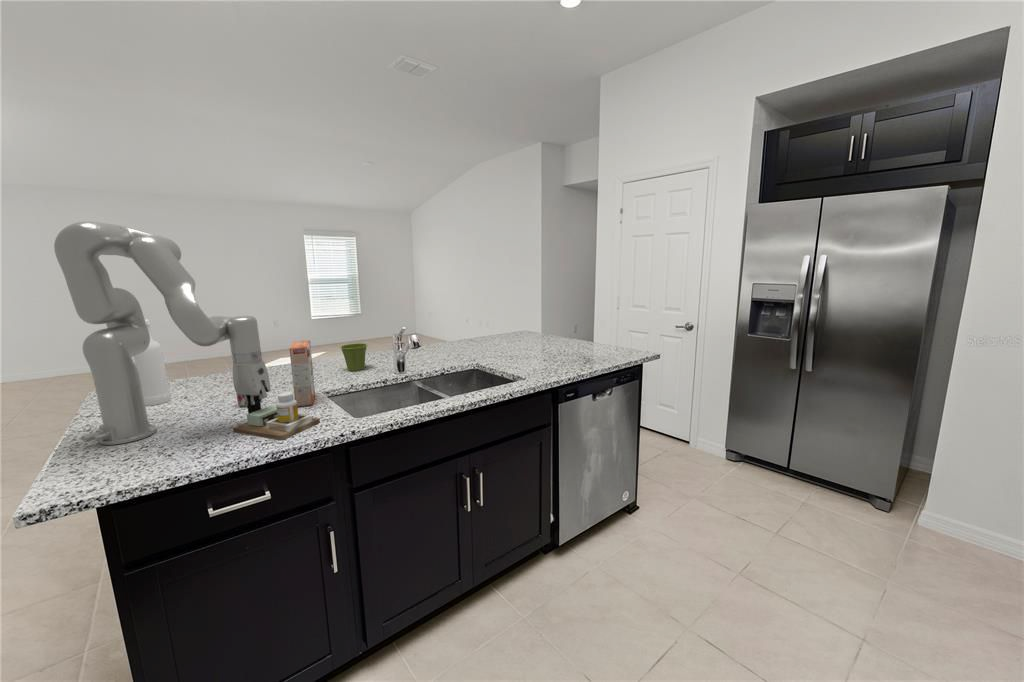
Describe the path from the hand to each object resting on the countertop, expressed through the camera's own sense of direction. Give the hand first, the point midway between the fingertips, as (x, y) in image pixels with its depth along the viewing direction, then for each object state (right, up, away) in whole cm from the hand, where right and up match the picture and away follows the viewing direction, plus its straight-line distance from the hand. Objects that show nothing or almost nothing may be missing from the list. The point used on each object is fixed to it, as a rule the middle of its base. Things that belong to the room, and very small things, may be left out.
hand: (255, 415), depth 131 cm
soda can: (-13, 0, +19) cm, 23 cm away
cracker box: (+5, +1, +22) cm, 22 cm away
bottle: (-49, +1, +23) cm, 54 cm away
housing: (+4, -1, -1) cm, 5 cm away
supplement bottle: (+13, -2, -5) cm, 14 cm away
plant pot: (+7, +10, +65) cm, 66 cm away
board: (+8, -3, -3) cm, 9 cm away
